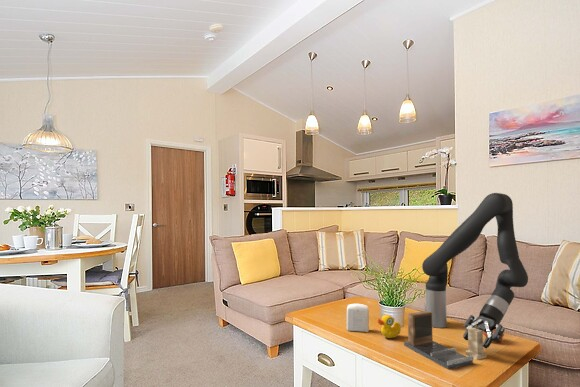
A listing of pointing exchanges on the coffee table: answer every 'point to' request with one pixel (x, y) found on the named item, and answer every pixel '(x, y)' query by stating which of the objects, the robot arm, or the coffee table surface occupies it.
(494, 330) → the pot
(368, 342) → the coffee table surface
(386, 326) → the duckling
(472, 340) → the beige pedestal column
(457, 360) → the grey stepped base
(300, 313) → the coffee table surface
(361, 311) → the photo printer
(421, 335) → the dark brown block
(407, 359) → the coffee table surface
